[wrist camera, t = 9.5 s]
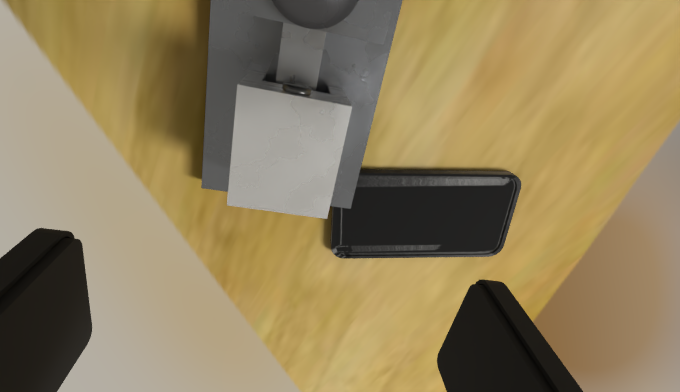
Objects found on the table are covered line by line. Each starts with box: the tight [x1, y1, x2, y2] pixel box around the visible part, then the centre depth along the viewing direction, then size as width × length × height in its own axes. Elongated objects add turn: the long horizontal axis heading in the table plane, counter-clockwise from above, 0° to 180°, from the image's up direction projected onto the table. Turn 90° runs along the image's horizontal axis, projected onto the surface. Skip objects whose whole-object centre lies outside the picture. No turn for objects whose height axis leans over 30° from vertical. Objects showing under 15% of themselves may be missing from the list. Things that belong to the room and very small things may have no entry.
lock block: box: [227, 71, 352, 219], centre depth 23 cm, size 6×7×5 cm
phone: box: [331, 169, 521, 258], centre depth 30 cm, size 8×1×15 cm
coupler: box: [202, 0, 402, 209], centre depth 21 cm, size 16×11×9 cm
